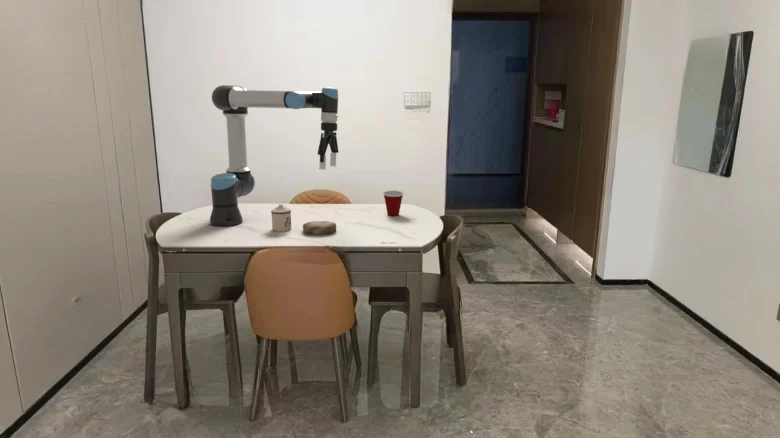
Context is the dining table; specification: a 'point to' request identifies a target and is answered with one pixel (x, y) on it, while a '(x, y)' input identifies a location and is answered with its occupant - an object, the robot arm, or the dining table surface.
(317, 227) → the brown round disc
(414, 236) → the dining table surface
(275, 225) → the teacup with lid
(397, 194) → the plastic cup
